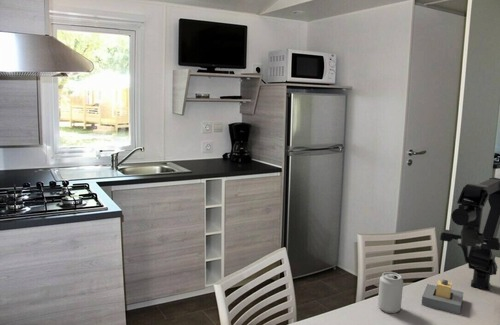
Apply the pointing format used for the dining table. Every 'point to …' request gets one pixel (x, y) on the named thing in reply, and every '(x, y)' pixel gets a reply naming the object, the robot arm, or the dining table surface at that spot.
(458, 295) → the socket
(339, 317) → the dining table surface
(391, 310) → the can
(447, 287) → the plug
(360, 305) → the dining table surface
